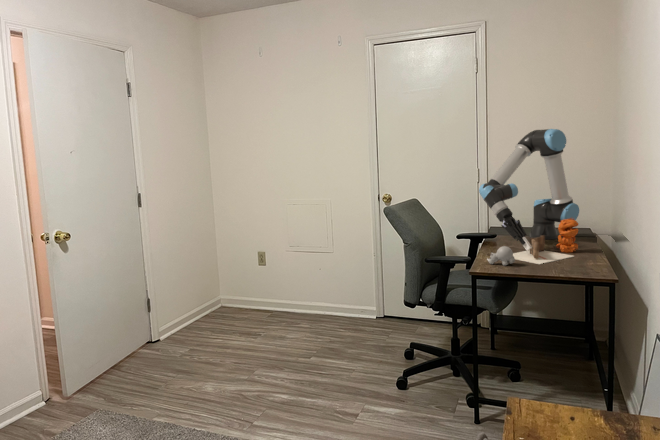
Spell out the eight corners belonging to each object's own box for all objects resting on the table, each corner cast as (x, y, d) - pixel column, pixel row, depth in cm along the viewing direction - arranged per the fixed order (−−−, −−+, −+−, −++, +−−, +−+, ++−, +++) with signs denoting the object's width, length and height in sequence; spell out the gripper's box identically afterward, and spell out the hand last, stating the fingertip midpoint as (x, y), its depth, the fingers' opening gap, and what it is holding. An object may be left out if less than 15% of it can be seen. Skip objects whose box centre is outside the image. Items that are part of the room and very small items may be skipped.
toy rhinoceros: (492, 267, 241) (485, 251, 241) (517, 259, 236) (510, 242, 236) (490, 270, 234) (483, 253, 235) (515, 262, 229) (508, 245, 230)
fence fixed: (541, 250, 262) (541, 235, 261) (545, 250, 260) (545, 235, 259) (528, 253, 255) (529, 237, 254) (532, 254, 254) (533, 238, 253)
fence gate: (530, 252, 254) (530, 237, 253) (534, 252, 253) (534, 237, 252) (534, 258, 241) (534, 242, 240) (538, 258, 241) (539, 242, 240)
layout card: (501, 256, 252) (501, 255, 252) (535, 249, 266) (535, 248, 266) (539, 264, 234) (540, 263, 234) (574, 256, 247) (574, 255, 247)
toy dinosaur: (569, 254, 252) (570, 219, 249) (551, 251, 261) (552, 216, 259) (584, 252, 257) (585, 217, 254) (565, 248, 266) (566, 214, 264)
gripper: (505, 215, 265) (532, 251, 255) (489, 217, 258) (516, 255, 247) (514, 206, 260) (542, 242, 250) (498, 208, 253) (527, 246, 242)
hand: (529, 249), depth 248 cm, fingers closed
